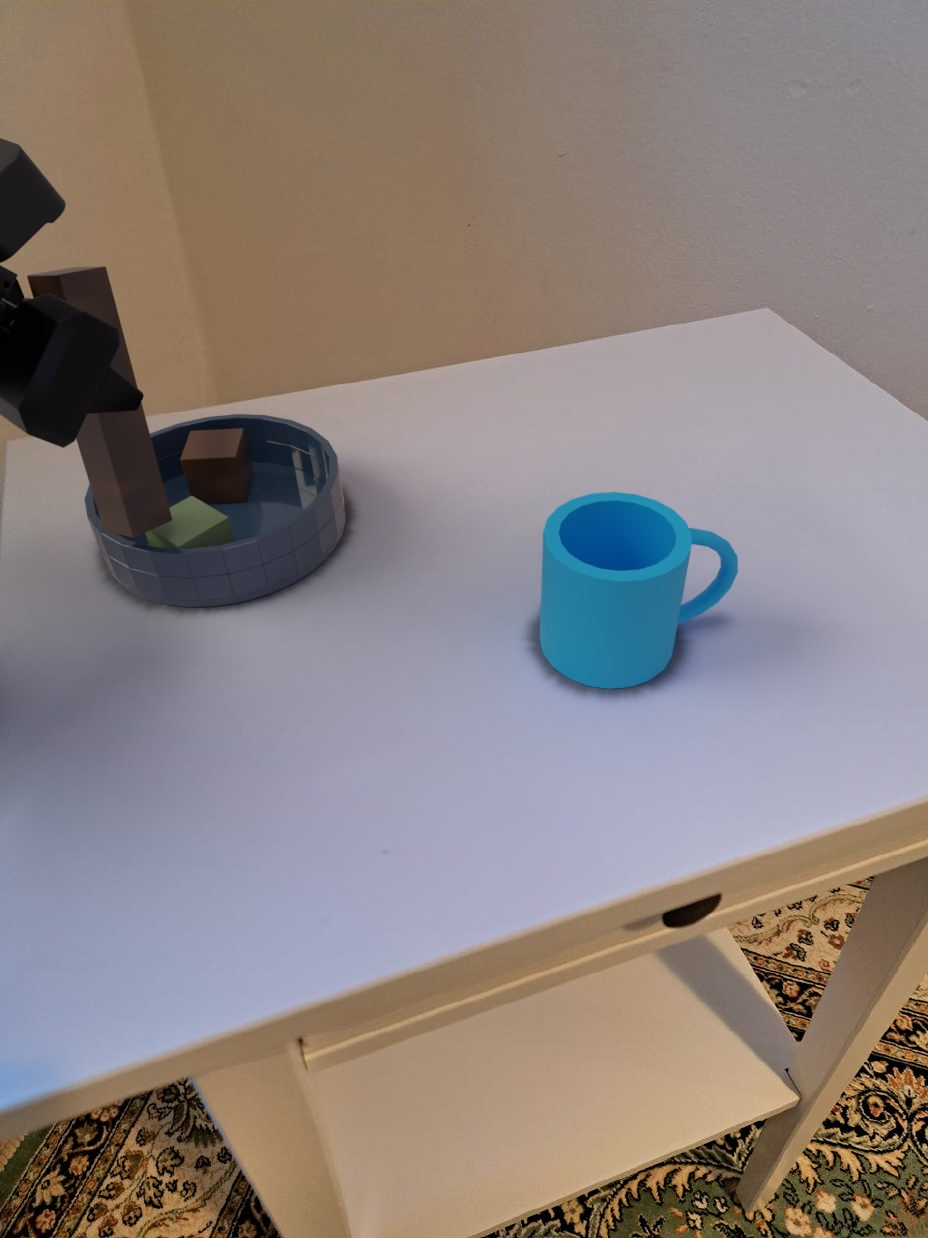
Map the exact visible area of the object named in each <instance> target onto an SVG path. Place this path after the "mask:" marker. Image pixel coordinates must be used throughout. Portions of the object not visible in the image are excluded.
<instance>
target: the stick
mask: <svg viewBox="0 0 928 1238" xmlns="http://www.w3.org/2000/svg"><path fill="white" fill-rule="evenodd" d="M26 279H27V281H28V284H29V288H30V292H31V294H32V298H35V297H38V296H41V295H44V294H47V293H51V294H52V295H54V296H56V297H58V298H60V299H62V300H64V301H66V302H68V303H70V304H72V305H74V306H75V307H77V308H79V309H81V310H83V311H85V312H87V313H89V314H91V315H93V316H94V317H96V318H98V319H100V320H102V321H104V322H106V323H107V324H109V325H111V326H113V327H115V328H117V329H119V338H120V345H119V347H118V349H117V351H116V353H115V356H114V358H113V360H112V362H111V364H110V367H112V368H113V369H114V370H115V371H116V372H118V373H119V374H120V375H121V376H123V377H124V378H125V379H126V380H128V381H129V382H130V383H131V384H133V385H134V386H135V387H136V388H138V383H137V379H136V375H135V373H134V369H133V364H132V361H131V357H130V353H129V349H128V345H127V342H126V338H125V335H124V330H123V326H122V323H121V319H120V316H119V311H118V308H117V304H116V300H115V296H114V292H113V289H112V285H111V282H110V278H109V273H108V269H107V266H105V265H102V266H73V267H66V268H62V269H55V270H50V271H44V272H38V273H31V274H27V275H26ZM138 389H139V388H138ZM142 402H143V401H141V404H140V406H139V408H138V409H137V410H135V411H122V412H107V413H92V414H87V415H86V418H85V420H84V422H83V424H82V426H81V428H80V430H79V433H78V435H77V437H76V439H75V441H76V443H77V446H78V450H79V453H80V456H81V460H82V464H83V465H84V470H85V472H86V476H87V479H88V483H90V486H91V489H92V493H93V496H94V499H95V503H96V506H97V509H98V513H99V516H100V519H101V522H102V526H103V529H104V531H107V532H112V533H116V534H120V535H124V536H129V537H133V538H134V537H136V536H139V535H141V534H143V533H145V532H148V531H150V530H152V529H154V528H157V527H159V526H161V525H163V524H166V523H168V522H170V521H172V517H171V513H170V509H169V505H168V501H167V497H166V494H165V490H164V486H163V482H162V478H161V475H160V471H159V467H158V463H157V459H156V456H155V452H154V448H153V444H152V440H151V437H150V433H151V432H150V429H149V426H148V422H147V421H148V420H147V418H146V414H145V410H144V406H143V403H142Z"/></svg>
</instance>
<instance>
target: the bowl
mask: <svg viewBox="0 0 928 1238" xmlns="http://www.w3.org/2000/svg"><path fill="white" fill-rule="evenodd" d="M238 428H243V429H244V432H245V437H246V441H247V445H248V450H249V454H250V459H251V463H252V467H253V472H254V474H253V478H252V482H251V486H250V490H249V495H248V499H247V502H244V503H225V504H207V505H209V506H210V507H212V508H214V509H215V510H217V511H219V512H221V513H222V514H224V515H226V516H227V517H228V518H229V521H230V525H231V529H232V533H233V536H234V540H235V542H231V543H227V544H223V545H218V546H208V547H199V548H190V549H182V548H163V547H153V546H149V543H148V540H147V537H146V534H145V533H143V534H141V535H139V536H136V537H134V538H133V537H129V536H124V535H120V534H116V533H112V532H107V531H104V529H103V526H102V522H101V519H100V516H99V513H98V509H97V506H96V503H95V499H94V496H93V493H92V489H91V486H90V483H89V482H88V483H89V484H88V487H87V489H86V493H85V496H84V506H85V507H84V508H85V511H86V517H87V520H88V523H89V525H90V528H91V531H92V532H93V536H94V537H95V540H96V543H97V545H98V548H99V550H100V553H101V556H102V558H103V561H104V563H105V564H106V565H107V568H108V570H109V571H110V573H111V575H112V577H113V578H114V580H116V581H117V582H118V583H119V584H120V585H121V586H122V587H124V588H125V589H126V590H127V591H129V592H131V593H133V594H135V595H136V596H139V597H141V598H143V599H145V600H148V601H152V602H154V603H159V604H163V605H169V606H175V607H184V608H207V607H221V606H226V605H233V604H240V603H242V602H243V603H244V602H247V601H251V600H255V599H258V598H262V597H264V596H267V595H270V594H273V593H275V592H277V591H280V590H282V589H285V588H287V587H288V586H290V585H292V584H294V583H296V582H298V581H300V580H301V579H303V578H304V577H307V575H309V574H310V573H312V572H313V571H314V570H315V569H317V568H318V567H319V566H321V565H322V564H323V563H324V562H325V560H326V559H327V558H328V557H329V556H330V555H331V554H332V553H333V551H334V550H335V549H336V548H337V546H338V544H339V543H340V540H341V539H342V536H343V534H344V530H345V526H346V517H347V516H346V510H345V498H344V492H343V491H344V490H343V486H342V479H341V472H340V465H339V459H338V455H337V453H336V451H335V450H334V448H333V446H332V444H331V443H330V441H329V440H328V439H327V438H325V437H324V436H323V435H321V434H320V433H319V432H318V431H316V430H315V429H313V428H312V427H310V426H307V425H305V424H302V423H300V422H298V421H295V420H293V419H288V418H284V417H277V416H272V415H267V414H251V413H235V414H234V413H233V414H222V415H214V416H213V415H211V416H205V417H201V418H196V419H192V420H188V421H183V422H178V423H175V424H173V425H170V426H166V427H164V428H161V429H159V430H155V431H153V432H149V433H150V437H151V440H152V444H153V448H154V452H155V456H156V459H157V463H158V467H159V471H160V475H161V478H162V482H163V486H164V490H165V494H166V497H167V501H168V505H169V508H170V507H172V506H174V505H176V504H177V503H179V502H181V501H183V500H185V499H187V498H188V497H190V496H191V495H190V492H189V488H188V485H187V481H186V478H185V475H184V471H183V468H182V464H181V461H180V459H181V456H182V453H183V450H184V448H185V445H186V442H187V439H188V436H189V434H190V431H199V430H218V429H238Z"/></svg>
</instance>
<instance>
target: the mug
mask: <svg viewBox="0 0 928 1238" xmlns="http://www.w3.org/2000/svg"><path fill="white" fill-rule="evenodd" d="M692 545H694V546H696V545H697V546H701V547H706V548H709V549H711V550H712V551H715V552H716V554H717V555H718V556H719V558H720V567H719V569H718V572H717V574H716V576H715V578H714V579H713V580H712V581H711V583H710V584H709V585H708V586H707V588H705V589H704V590H703V591H701V592H700V593H699V594H697V595H696V596H695V597H693V598H692V599H691V600H688V601H687V602H686V601H685V602H684V603H682V602H683V601H682V600H683V597H684V591H685V585H686V580H687V574H688V570H689V569H688V568H689V564H690V563H689V562H690V557H691V552H692ZM541 552H542V553H541V554H542V555H541V583H540V611H539V612H540V613H539V614H540V615H539V643H540V647H541V652H542V654H543V656H544V657H545V658H546V660H547V662H548V663H549V665H550V666H551V667H552V668H553V669H555V670H556V671H557V672H559V673H560V674H561V675H563V676H564V677H565V678H567V679H570V680H572V681H574V682H577V683H579V684H581V685H584V686H586V687H594V688H601V689H607V690H610V689H611V690H612V689H622V688H623V689H624V688H633V687H634V686H638V685H641V684H644V683H647V682H649V681H651V680H652V679H654V678H655V677H656V676H658V675H659V674H660V673H662V672H664V670H665V669H666V667H667V665H668V664H669V663H670V661H671V659H672V657H673V652H674V647H675V641H676V635H677V630H678V625H681V624H684V623H686V622H688V621H690V620H692V619H694V618H696V617H699V616H700V615H703V614H704V613H705V612H707V611H708V610H709V609H711V608H712V607H713V606H715V605H716V604H717V603H719V602H720V601H721V600H722V599H723V597H724V596H725V595H726V594H727V593H728V592H729V591H730V590H731V589H732V586H733V584H734V582H735V580H736V578H737V575H738V573H739V561H738V560H739V558H738V555H737V552H736V551H735V549H734V548H733V546H732V545H731V543H730V542H729V541H728V540H727V539H726V538H724V537H722V536H720V535H718V534H717V533H715V532H713V531H711V530H705V529H700V528H694V527H689V525H688V523H687V521H686V520H685V519H683V517H682V516H681V515H680V514H679V513H678V512H677V511H676V510H675V509H673V508H671V507H670V506H668V505H665V504H664V503H662V502H660V501H658V500H657V499H653V498H649V497H647V496H644V495H640V494H636V493H627V492H617V491H609V492H608V491H606V492H594V493H589V494H585V495H582V496H578V497H574V498H571V499H570V500H568V501H567V502H564V503H562V504H561V505H559V506H557V507H556V508H555V509H554V510H553V512H552V513H551V514H550V515H549V516H548V517H547V518H546V521H545V524H544V528H543V531H542V551H541Z"/></svg>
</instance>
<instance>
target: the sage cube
mask: <svg viewBox="0 0 928 1238" xmlns="http://www.w3.org/2000/svg"><path fill="white" fill-rule="evenodd" d="M169 509H170V513H171V517H172V521H170V522H168V523H166V524H163V525H161V526H159V527H157V528H154V529H152V530H150V531H148V532H145V534H146V537H147V540H148V543H149V546H153V547H163V548H182V549H190V548H199V547H208V546H218V545H223V544H227V543H231V542H235V540H234V536H233V533H232V529H231V525H230V521H229V518H228V517H227V516H226V515H224V514H222V513H221V512H219V511H217V510H215V509H214V508H212V507H210V506H209V505H207V504H205V503H204V502H202V501H200V500H198V499H197V498H195V497H193V496H190V497H188V498H187V499H185V500H183V501H181V502H179V503H177V504H176V505H174V506H172V507H170V508H169Z"/></svg>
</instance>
